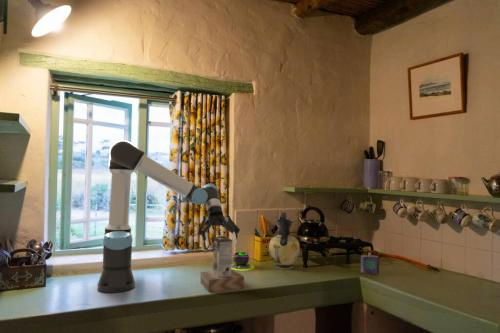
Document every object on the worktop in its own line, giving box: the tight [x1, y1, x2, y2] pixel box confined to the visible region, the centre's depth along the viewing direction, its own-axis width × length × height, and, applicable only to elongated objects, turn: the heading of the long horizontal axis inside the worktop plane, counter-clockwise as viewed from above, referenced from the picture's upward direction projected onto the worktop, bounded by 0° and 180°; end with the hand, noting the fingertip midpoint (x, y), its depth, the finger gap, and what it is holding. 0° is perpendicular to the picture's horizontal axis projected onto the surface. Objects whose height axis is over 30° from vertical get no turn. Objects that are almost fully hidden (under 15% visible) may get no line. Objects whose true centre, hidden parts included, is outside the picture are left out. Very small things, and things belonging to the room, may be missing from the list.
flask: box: [360, 252, 380, 275], centre depth 186 cm, size 9×3×11 cm, turn 79°
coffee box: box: [212, 236, 233, 277], centre depth 160 cm, size 9×6×16 cm
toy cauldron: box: [231, 249, 255, 272], centre depth 194 cm, size 15×15×11 cm
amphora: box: [268, 211, 301, 270], centre depth 196 cm, size 18×17×30 cm
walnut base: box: [200, 269, 245, 293], centre depth 159 cm, size 16×14×5 cm
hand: (222, 245), depth 163 cm, fingers open, 13 cm apart
